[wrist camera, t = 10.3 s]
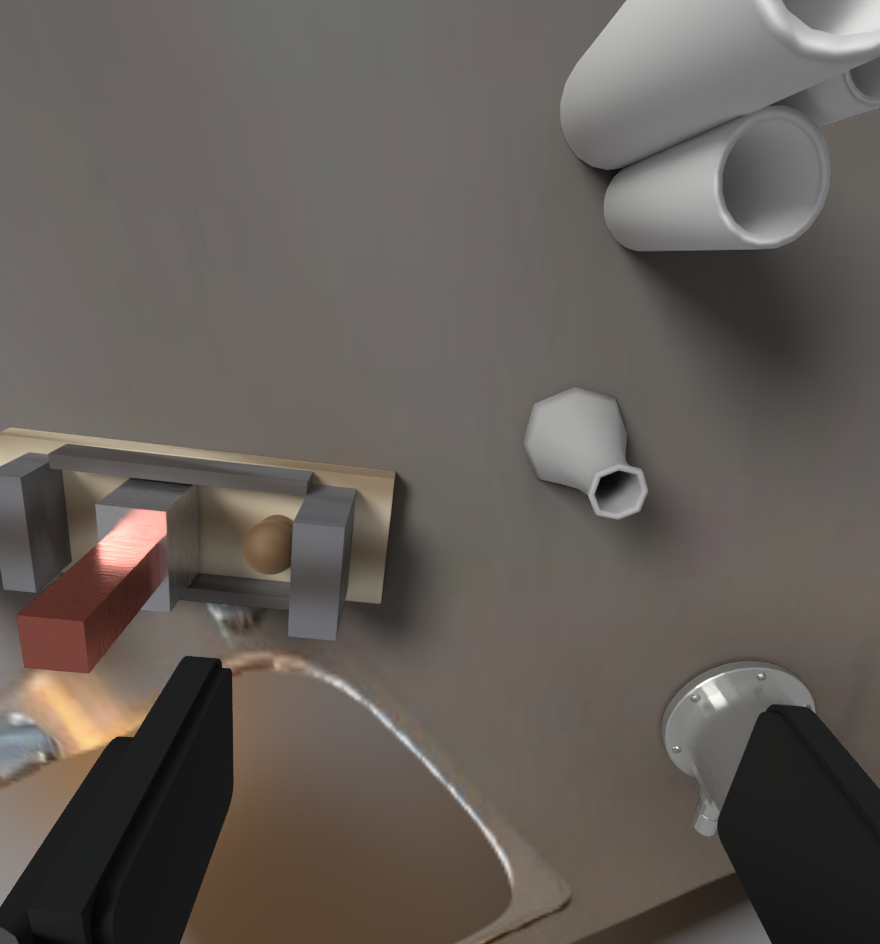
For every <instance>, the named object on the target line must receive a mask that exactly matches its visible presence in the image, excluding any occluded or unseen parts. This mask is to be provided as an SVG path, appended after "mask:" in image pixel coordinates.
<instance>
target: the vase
mask: <svg viewBox="0 0 880 944" xmlns="http://www.w3.org/2000/svg"><path fill="white" fill-rule="evenodd" d="M876 108H880V0H627V1H626V2H625V3H624V4H623V6H622V7H621V8H620V9H619V11H618V12H617V13H616V15H615V16H614V17H613V18H612V20H611V21H610V22H609V23H608V25H607V26H606V27H605V28H604V30H603V31H602V32H601V34H600V35H599V36H598V37H597V39H596V40H595V41H594V42H593V44H592V45H591V46H590V48H589V49H588V50H587V51H586V53H585V54H584V55H583V56H582V58H581V59H580V60H579V61H578V63H577V64H576V66H575V67H574V69H573V71H572V73H571V74H570V76H569V78H568V80H567V81H566V84H565V87H564V91H563V95H562V99H561V103H560V115H561V127H562V130H563V133H564V136H565V139H566V142H567V144H568V145H569V147H570V148H571V149H572V151H573V152H574V153H575V155H576V156H577V157H578V158H579V159H581V160H582V161H584V162H585V163H587V164H588V165H590V166H592V167H596V168H601V169H605V170H613V169H620V168H623V169H622V170H621V171H620V172H618V173H617V174H616V175H615V176H614V177H613V179H612V181H611V182H610V184H609V186H608V188H607V190H606V195H605V199H604V218H605V221H606V224H607V227H608V230H609V231H610V233H611V234H612V236H613V237H614V238H615V240H616V241H617V242H619V243H620V244H621V245H623V246H624V247H625V248H628V249H631V250H634V251H690V250H751V249H774V248H779V247H781V246H783V245H786V244H788V243H791V242H793V241H795V240H796V239H797V238H798V237H800V236H801V235H802V234H803V233H804V232H805V231H807V230H808V229H809V228H810V227H811V225H812V224H813V222H814V221H815V219H816V218H817V216H818V215H819V213H820V212H821V210H822V209H823V206H824V203H825V200H826V197H827V194H828V191H829V188H830V176H831V161H830V156H829V151H828V146H827V142H826V141H825V139H824V137H823V135H822V133H821V131H820V130H819V128H818V127H821V126H824V125H827V124H830V123H833V122H836V121H840V120H843V119H846V118H849V117H852V116H855V115H858V114H861V113H864V112H867V111H870V110H873V109H876Z"/></svg>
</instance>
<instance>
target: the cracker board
mask: <svg viewBox="0 0 880 944" xmlns="http://www.w3.org/2000/svg"><path fill="white" fill-rule="evenodd" d="M395 472H396V471H387V470H378V469H370V468H361V467H352V466H343V465H335V464H326V463H317V462H308V461H300V460H291V459H282V458H273V457H265V456H256V455H247V454H238V453H229V452H221V451H212V450H203V449H194V448H186V447H177V446H168V445H159V444H151V443H142V442H133V441H124V440H116V439H107V438H98V437H89V436H81V435H72V434H63V433H54V432H45V431H37V430H28V429H19V428H8V429H6V430H4V431H1V432H0V570H1V576H2V583H3V589H4V590H13V591H23V592H34V593H36V592H37V591H39V590H40V589H41V588H42V587H43V586H44V585H46V584H47V583H48V582H49V581H50V580H51V579H52V578H54V577H55V576H56V575H57V574H58V573H59V572H61V573H65V572H66V571H67V570H69V569H70V568H71V567H72V566H73V565H74V564H75V563H76V562H78V561H79V560H80V559H81V558H82V557H83V556H84V555H86V554H87V553H88V552H89V551H90V550H91V549H92V548H93V547H95V546H96V545H97V544H98V543H99V540H98V529H97V518H96V506H95V504H96V503H98V502H99V501H100V500H102V499H103V498H104V497H106V496H107V495H108V494H110V493H111V492H112V491H114V490H115V489H116V488H118V487H119V486H120V485H122V484H123V483H124V482H126V481H127V480H128V479H129V478H141V479H150V480H159V481H168V482H177V483H186V484H195V485H198V519H199V570H200V571H199V573H198V574H197V576H196V577H195V578H194V580H193V581H192V583H191V584H190V585H189V587H188V588H187V590H186V591H185V592H184V594H183V595H182V597H181V598H180V599H179V600H188V601H198V602H209V603H219V604H229V605H240V606H250V607H260V608H271V609H281V610H289V623H288V636H290V637H300V638H311V639H322V640H332V641H336V637H337V633H338V629H339V625H340V620H341V616H342V612H343V607H344V603H345V601H356V602H366V603H376V604H381V597H382V589H383V580H384V571H385V562H386V553H387V544H388V535H389V526H390V517H391V508H392V499H393V490H394V481H395ZM272 515H283V516H286V517H288V518H290V519H291V520H293V534H292V556H291V566H290V567H289V568H288V569H287V570H285V571H283V572H281V573H278V574H272V575H268V574H262V573H260V572H257V571H256V570H254V569H253V568H252V567H250V565H249V564H248V563H247V561H246V559H245V557H244V553H243V544H244V540H245V537H246V535H247V534H248V532H249V531H250V530H251V529H252V528H253V527H254V526H255V525H257V524H259V523H261V522H262V521H263V520H264V519H265V518H267V517H269V516H272Z"/></svg>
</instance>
